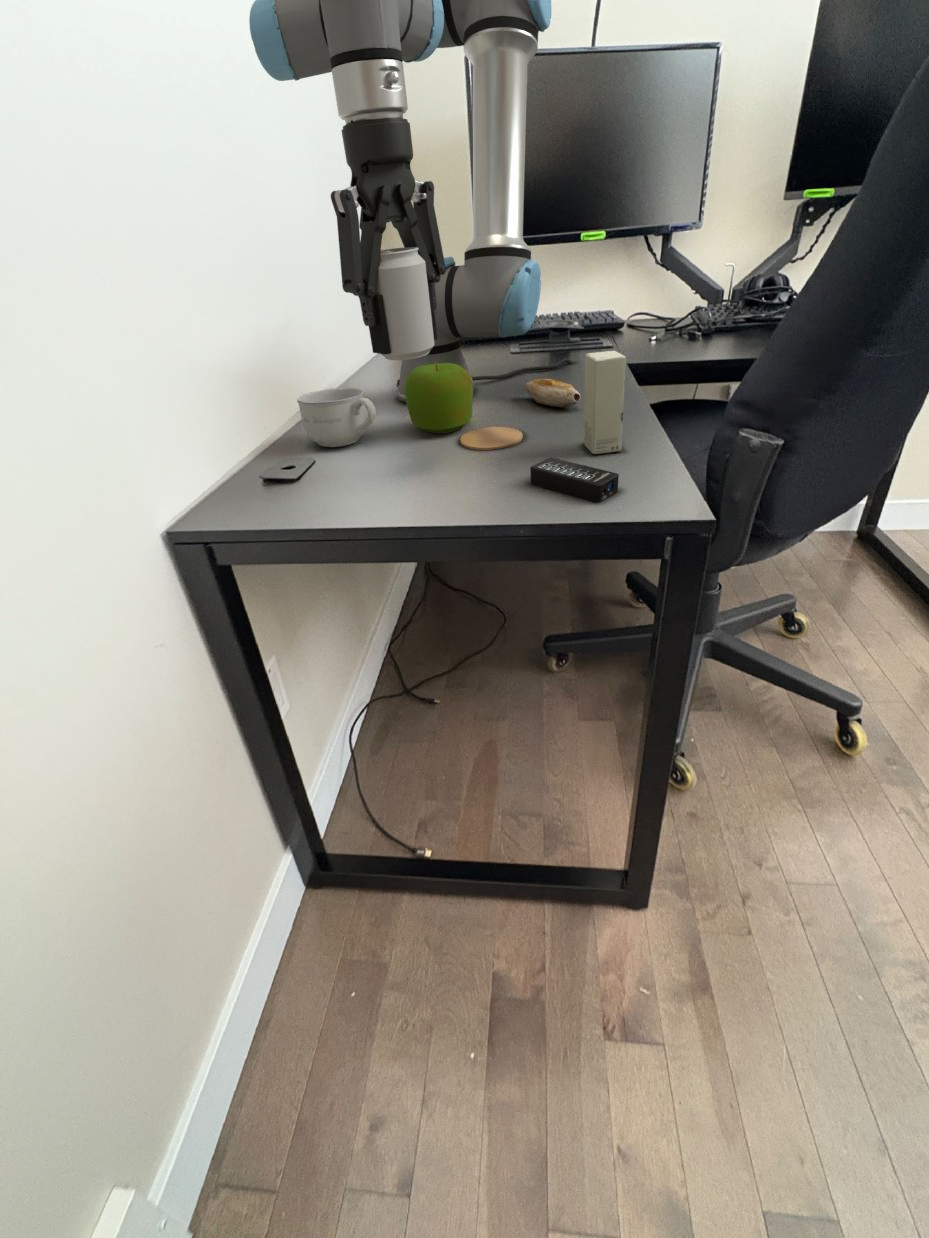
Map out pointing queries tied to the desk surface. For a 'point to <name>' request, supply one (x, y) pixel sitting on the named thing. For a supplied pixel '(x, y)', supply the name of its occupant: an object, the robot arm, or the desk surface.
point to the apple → (439, 397)
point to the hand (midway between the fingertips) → (405, 345)
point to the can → (405, 303)
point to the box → (604, 401)
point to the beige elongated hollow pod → (552, 392)
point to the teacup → (336, 415)
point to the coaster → (491, 438)
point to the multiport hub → (574, 479)
